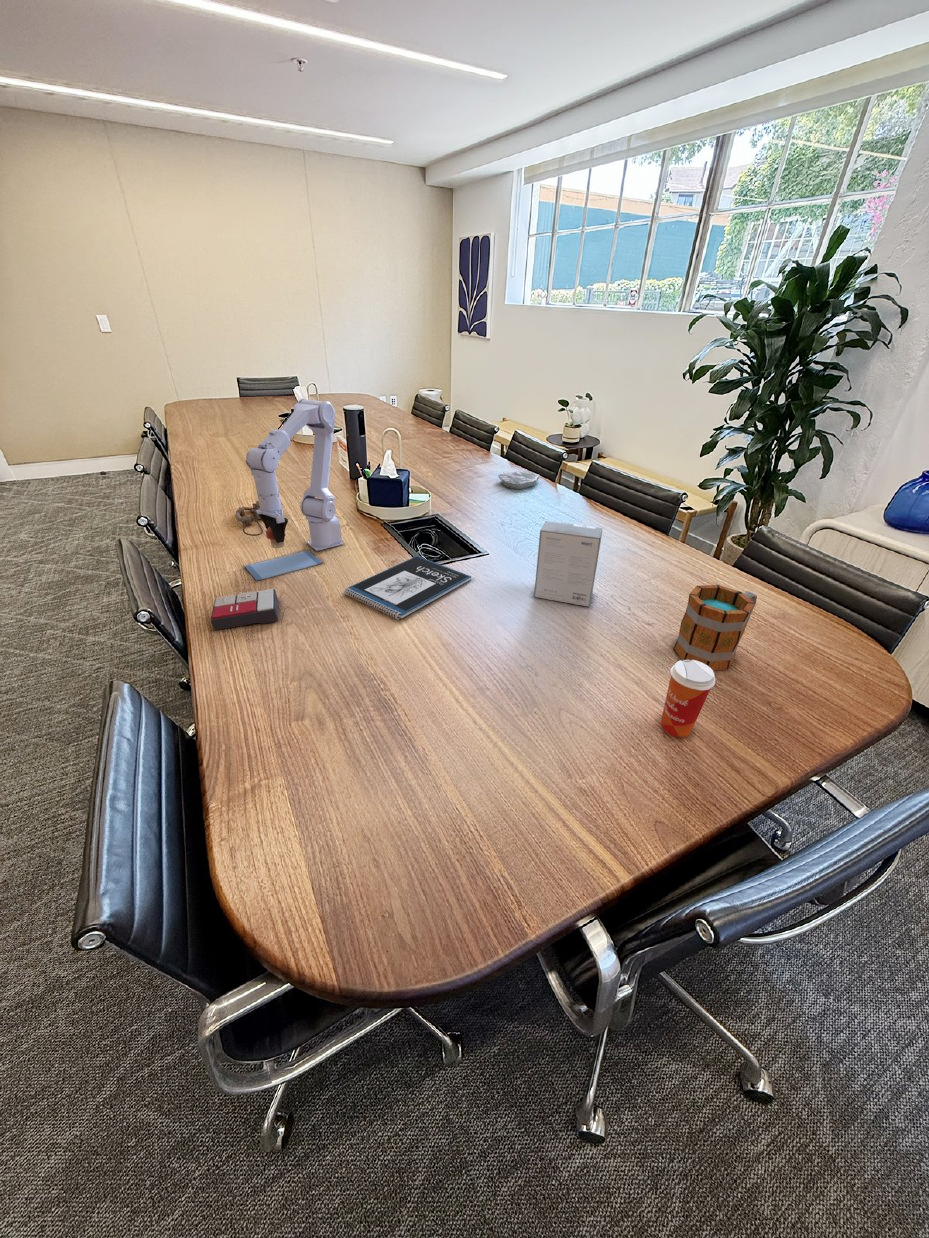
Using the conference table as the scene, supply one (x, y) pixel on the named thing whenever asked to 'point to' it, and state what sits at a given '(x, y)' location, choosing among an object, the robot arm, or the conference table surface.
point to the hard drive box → (567, 562)
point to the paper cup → (686, 696)
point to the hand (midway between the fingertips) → (276, 538)
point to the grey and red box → (245, 609)
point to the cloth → (282, 565)
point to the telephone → (249, 517)
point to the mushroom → (273, 539)
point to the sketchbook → (407, 586)
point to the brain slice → (518, 479)
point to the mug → (714, 625)
